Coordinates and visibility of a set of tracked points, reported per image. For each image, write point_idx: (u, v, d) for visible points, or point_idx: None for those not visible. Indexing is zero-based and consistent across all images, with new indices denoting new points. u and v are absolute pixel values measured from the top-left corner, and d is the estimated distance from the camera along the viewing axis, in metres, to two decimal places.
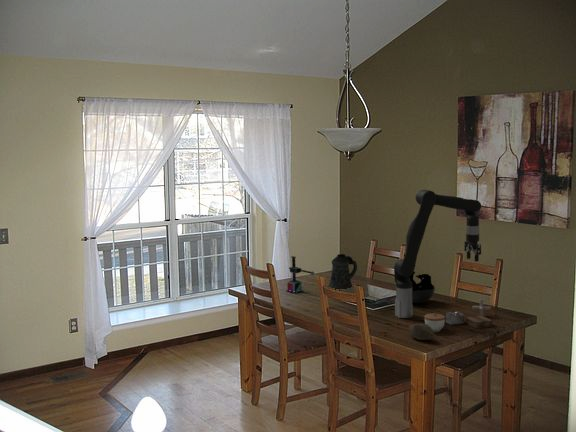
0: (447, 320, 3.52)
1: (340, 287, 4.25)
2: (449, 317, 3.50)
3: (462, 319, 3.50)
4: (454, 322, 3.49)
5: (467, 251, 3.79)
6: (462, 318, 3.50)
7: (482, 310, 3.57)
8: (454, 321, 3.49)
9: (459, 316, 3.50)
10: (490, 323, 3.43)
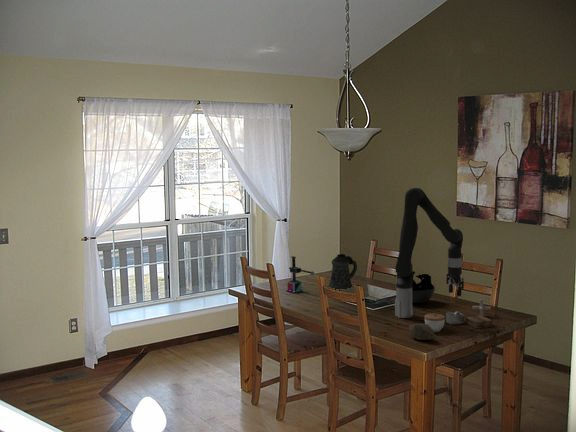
0: (447, 320, 3.52)
1: (340, 287, 4.25)
2: (449, 317, 3.50)
3: (462, 319, 3.50)
4: (454, 322, 3.49)
5: (449, 284, 3.53)
6: (462, 318, 3.50)
7: (482, 310, 3.57)
8: (454, 320, 3.49)
9: (459, 316, 3.50)
10: (490, 323, 3.43)
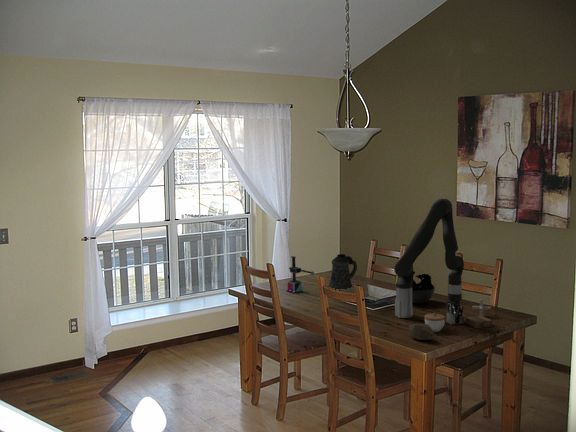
0: (447, 320, 3.52)
1: (340, 287, 4.25)
2: (449, 317, 3.50)
3: (462, 319, 3.50)
4: (454, 322, 3.49)
5: None
6: (462, 318, 3.50)
7: (482, 310, 3.57)
8: (454, 320, 3.49)
9: None
10: (490, 323, 3.43)
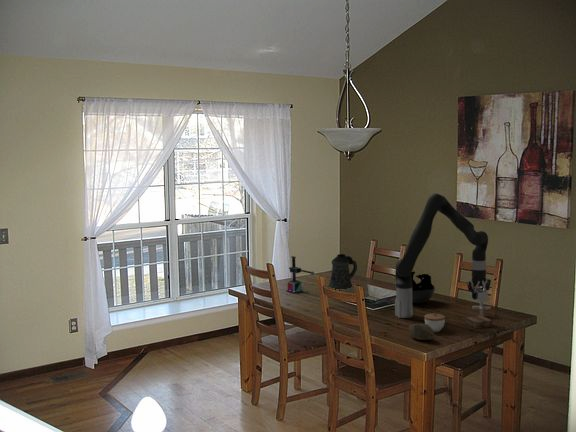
0: None
1: (340, 287, 4.25)
2: None
3: (478, 297, 3.41)
4: None
5: None
6: (478, 296, 3.41)
7: (482, 310, 3.57)
8: None
9: (476, 293, 3.43)
10: (490, 323, 3.43)
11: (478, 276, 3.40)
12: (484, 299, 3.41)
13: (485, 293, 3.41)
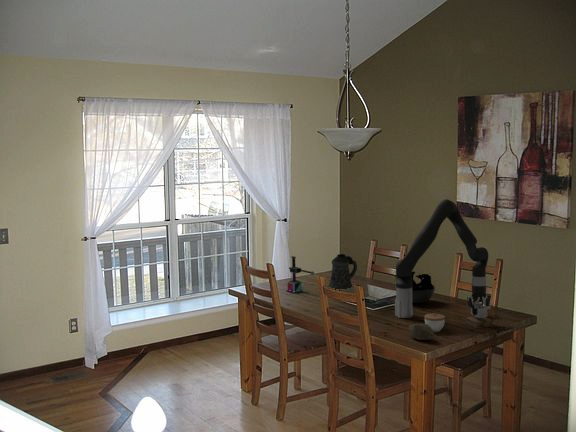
0: None
1: (340, 287, 4.25)
2: None
3: (478, 313, 3.42)
4: None
5: None
6: (478, 312, 3.42)
7: None
8: None
9: (476, 309, 3.44)
10: (490, 323, 3.43)
11: (478, 292, 3.41)
12: (484, 315, 3.42)
13: (485, 309, 3.42)
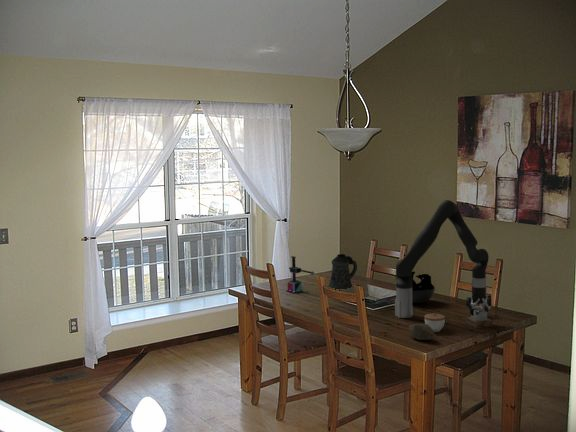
0: None
1: (340, 287, 4.25)
2: None
3: (478, 317, 3.42)
4: (473, 316, 3.47)
5: None
6: (478, 316, 3.42)
7: None
8: None
9: (476, 313, 3.44)
10: (490, 323, 3.43)
11: (478, 293, 3.41)
12: (484, 318, 3.43)
13: (485, 313, 3.42)
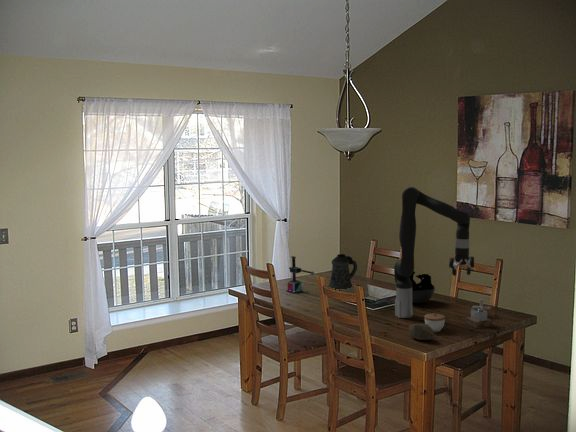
0: None
1: (340, 287, 4.25)
2: None
3: (478, 317, 3.42)
4: (473, 316, 3.47)
5: None
6: (478, 316, 3.42)
7: None
8: (473, 315, 3.47)
9: (476, 313, 3.44)
10: (490, 323, 3.43)
11: (461, 254, 3.51)
12: (484, 318, 3.43)
13: (485, 313, 3.42)
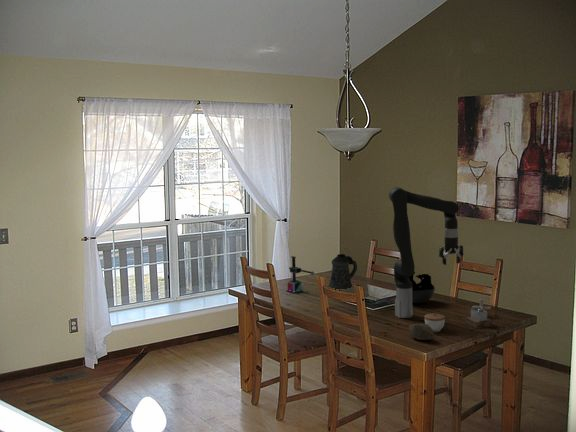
0: None
1: (340, 287, 4.25)
2: None
3: (478, 317, 3.42)
4: (473, 316, 3.47)
5: (456, 255, 3.65)
6: (478, 316, 3.42)
7: None
8: (473, 315, 3.47)
9: (476, 313, 3.44)
10: (490, 323, 3.43)
11: (450, 243, 3.58)
12: (484, 318, 3.43)
13: (485, 313, 3.42)
